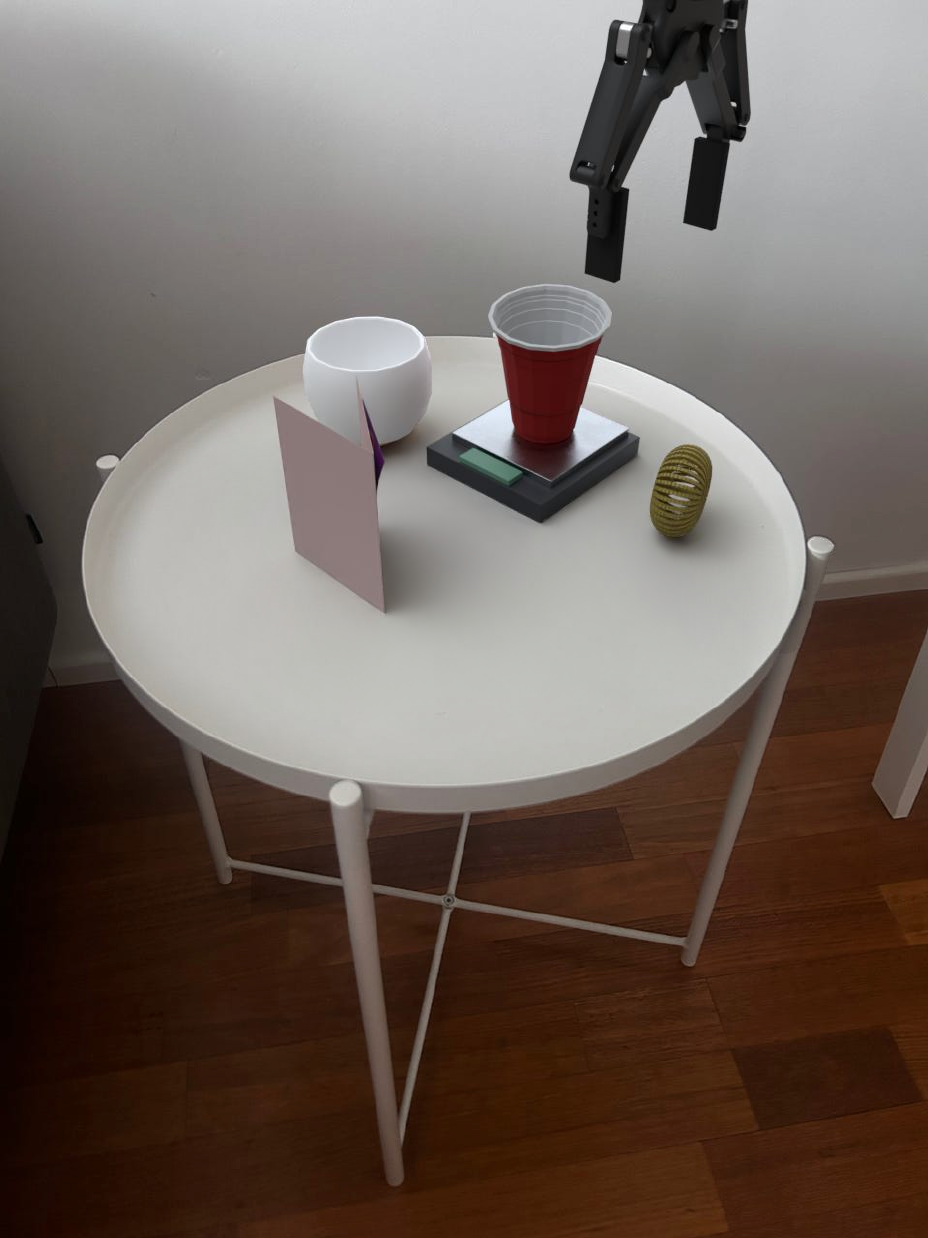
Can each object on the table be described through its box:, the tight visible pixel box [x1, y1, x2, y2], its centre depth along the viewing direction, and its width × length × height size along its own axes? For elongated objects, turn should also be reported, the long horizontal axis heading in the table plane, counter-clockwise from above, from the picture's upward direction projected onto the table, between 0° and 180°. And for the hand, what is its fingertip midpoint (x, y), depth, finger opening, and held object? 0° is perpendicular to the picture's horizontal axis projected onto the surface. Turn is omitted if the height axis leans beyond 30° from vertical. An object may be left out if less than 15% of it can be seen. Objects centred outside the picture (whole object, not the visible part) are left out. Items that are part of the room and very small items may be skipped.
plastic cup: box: [487, 283, 613, 444], centre depth 92 cm, size 11×11×12 cm
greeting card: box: [272, 376, 386, 614], centre depth 79 cm, size 11×7×15 cm, turn 11°
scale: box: [426, 398, 641, 524], centre depth 96 cm, size 14×15×3 cm
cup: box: [302, 316, 433, 447], centre depth 98 cm, size 12×12×10 cm
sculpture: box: [649, 443, 713, 538], centre depth 86 cm, size 8×4×8 cm, turn 155°
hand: (653, 250), depth 78 cm, fingers open, 13 cm apart
